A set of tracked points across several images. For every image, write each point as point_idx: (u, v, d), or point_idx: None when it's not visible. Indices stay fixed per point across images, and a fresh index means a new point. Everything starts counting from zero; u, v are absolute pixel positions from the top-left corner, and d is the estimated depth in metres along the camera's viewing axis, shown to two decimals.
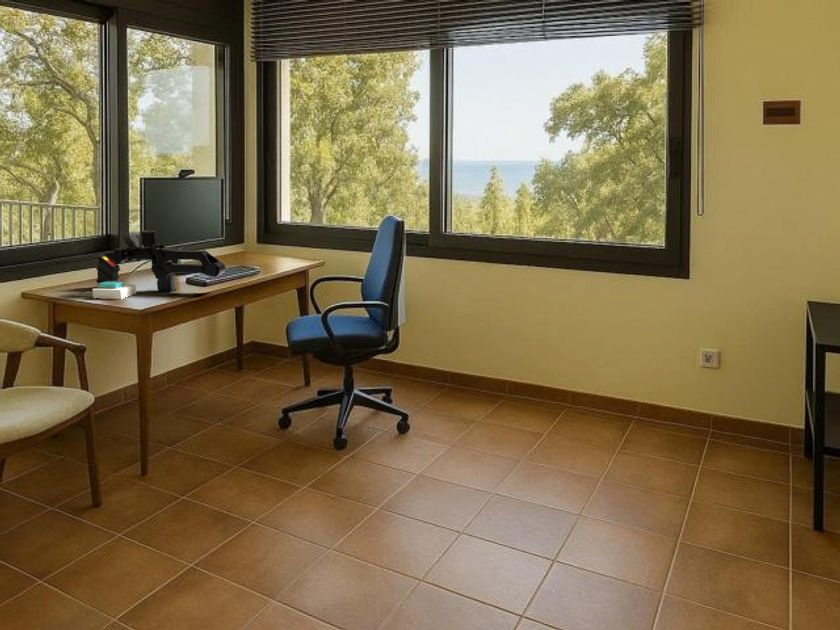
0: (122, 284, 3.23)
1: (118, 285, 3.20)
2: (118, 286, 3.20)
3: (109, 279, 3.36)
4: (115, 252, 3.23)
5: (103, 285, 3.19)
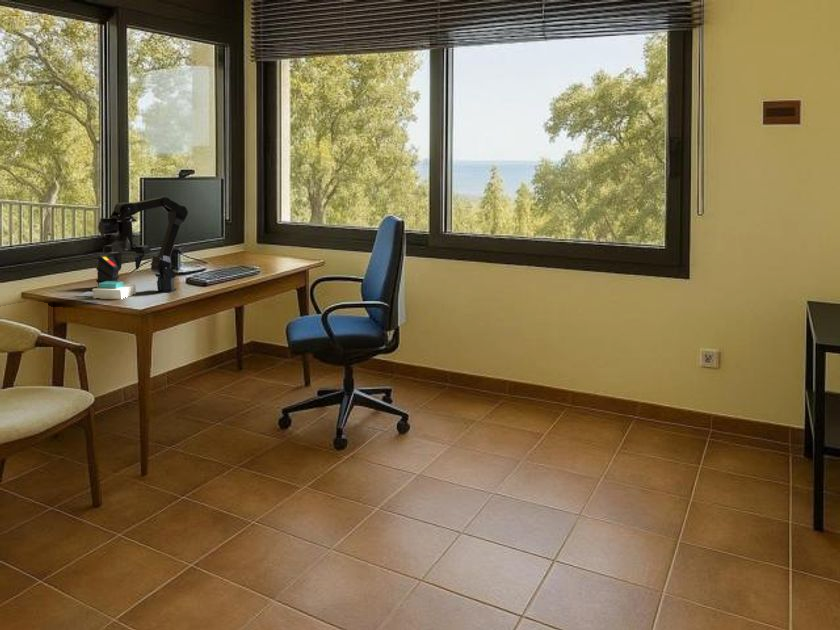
0: (122, 284, 3.23)
1: (118, 285, 3.20)
2: (118, 286, 3.20)
3: (109, 279, 3.36)
4: (144, 251, 3.13)
5: (103, 285, 3.19)
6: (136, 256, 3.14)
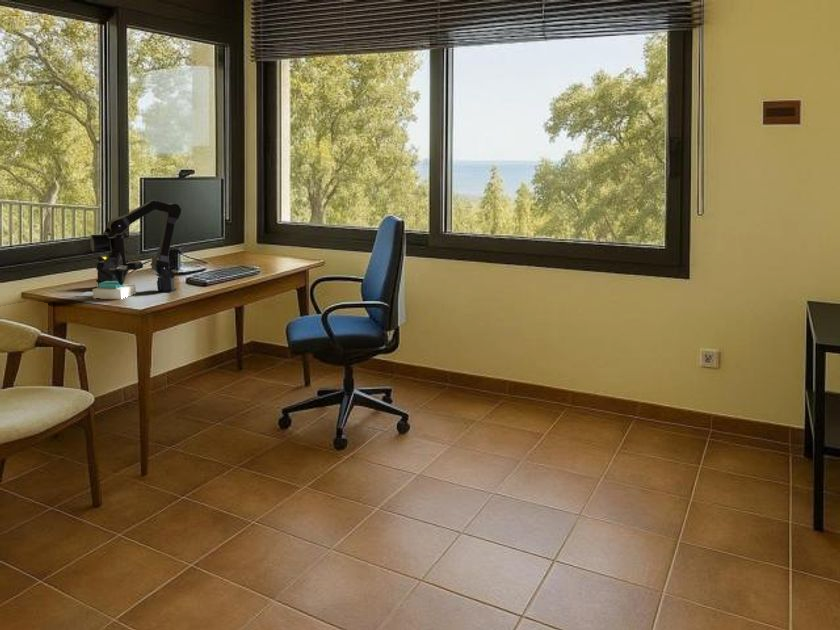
0: None
1: (118, 285, 3.20)
2: (118, 286, 3.20)
3: (109, 279, 3.36)
4: (137, 267, 3.16)
5: (103, 285, 3.19)
6: (120, 272, 3.17)
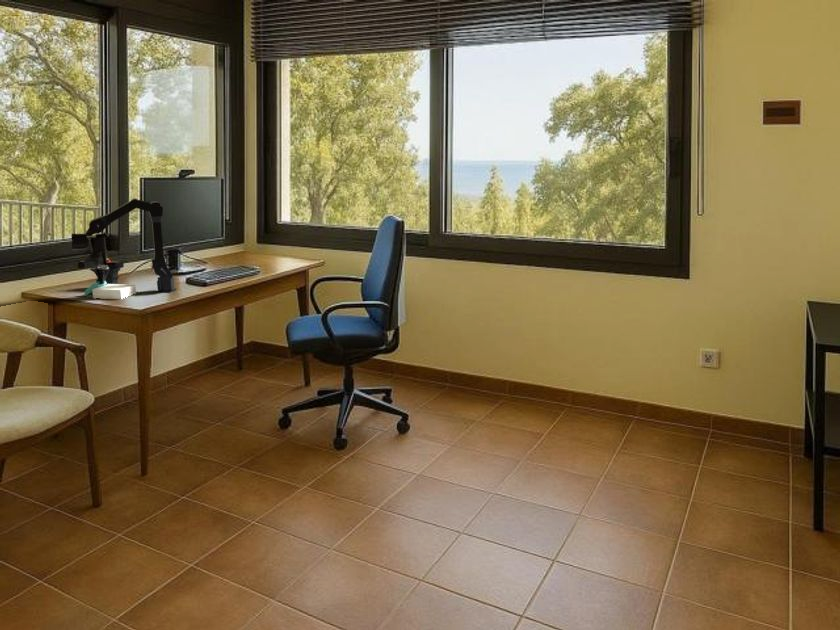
0: None
1: (99, 282, 3.22)
2: None
3: (109, 279, 3.36)
4: (118, 267, 3.17)
5: (88, 290, 3.22)
6: (101, 271, 3.18)
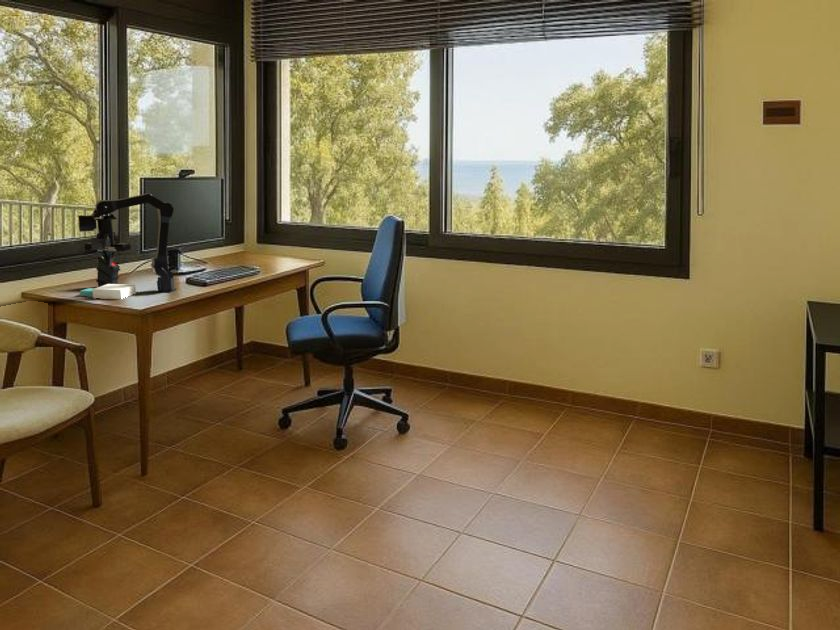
0: None
1: None
2: None
3: (109, 279, 3.36)
4: (125, 249, 3.15)
5: (85, 292, 3.22)
6: (108, 253, 3.16)
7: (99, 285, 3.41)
